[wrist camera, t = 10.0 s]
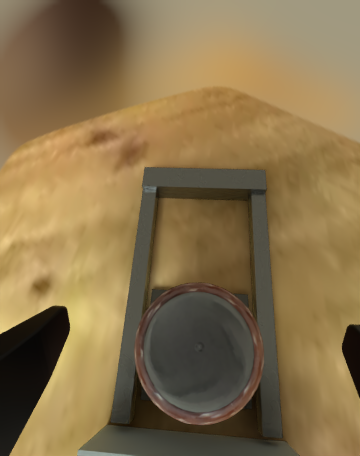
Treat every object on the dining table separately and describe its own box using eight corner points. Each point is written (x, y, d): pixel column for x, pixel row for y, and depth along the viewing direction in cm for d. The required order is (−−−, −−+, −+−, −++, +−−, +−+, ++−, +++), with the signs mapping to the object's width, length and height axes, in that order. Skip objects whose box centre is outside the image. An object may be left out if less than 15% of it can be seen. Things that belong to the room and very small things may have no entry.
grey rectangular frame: (276, 431, 18) (285, 440, 16) (116, 416, 19) (108, 424, 17) (260, 182, 26) (265, 170, 24) (148, 179, 27) (144, 167, 25)
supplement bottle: (200, 288, 22) (205, 235, 11) (255, 350, 20) (324, 354, 9) (141, 342, 20) (84, 337, 10) (194, 414, 18) (194, 503, 8)
